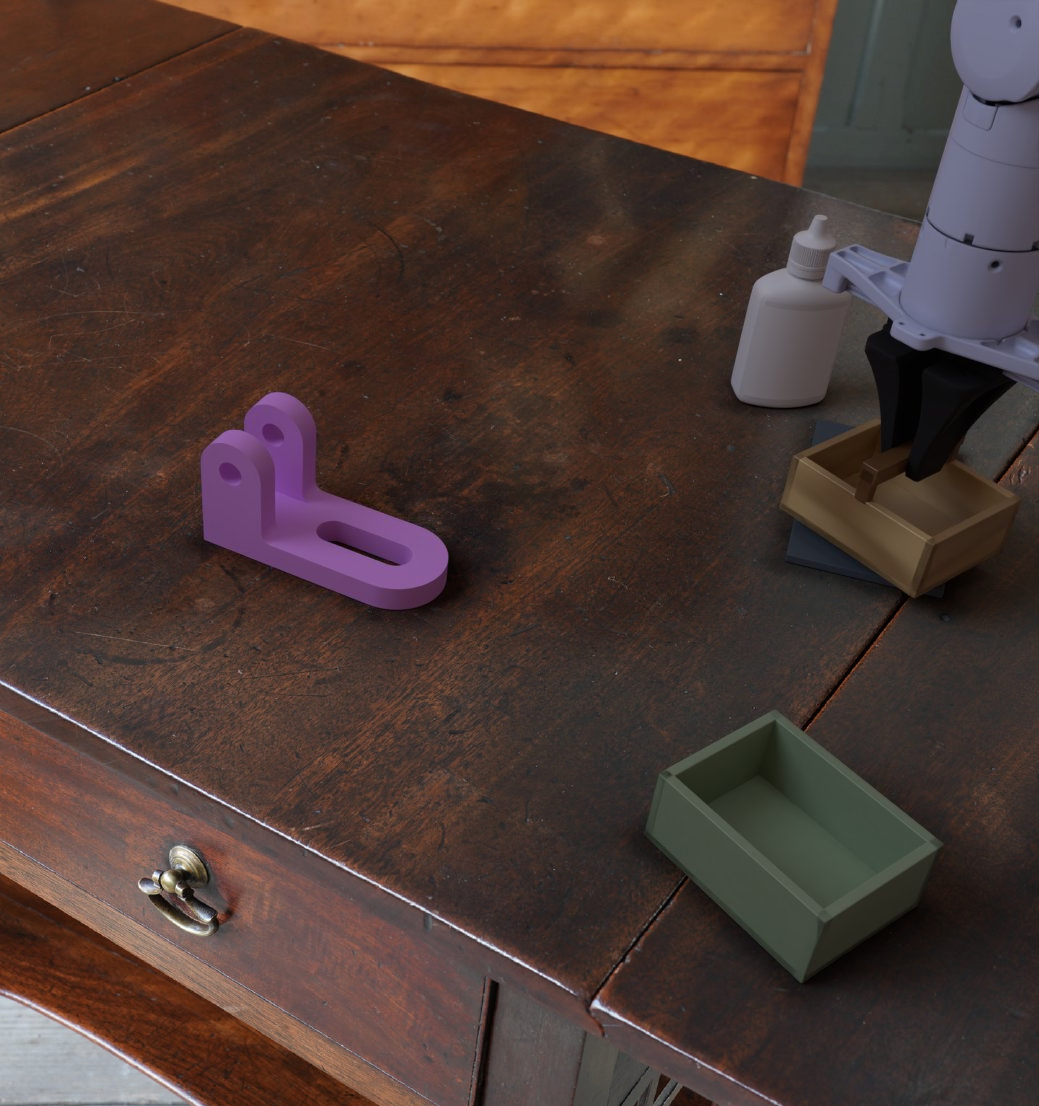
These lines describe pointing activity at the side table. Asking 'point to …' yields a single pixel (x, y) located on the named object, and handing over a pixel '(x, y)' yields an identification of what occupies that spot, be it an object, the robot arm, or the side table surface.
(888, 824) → the box
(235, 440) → the bracket
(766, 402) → the eye dropper bottle
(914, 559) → the top basket
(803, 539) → the mat
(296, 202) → the side table surface
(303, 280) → the side table surface
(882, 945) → the side table surface
